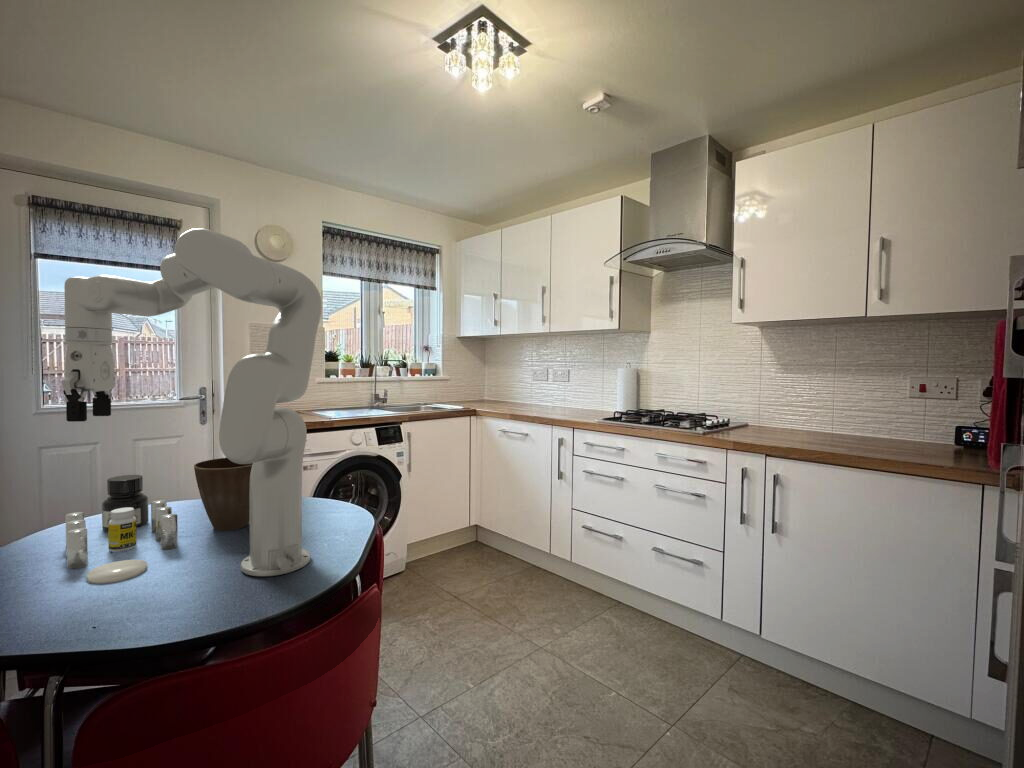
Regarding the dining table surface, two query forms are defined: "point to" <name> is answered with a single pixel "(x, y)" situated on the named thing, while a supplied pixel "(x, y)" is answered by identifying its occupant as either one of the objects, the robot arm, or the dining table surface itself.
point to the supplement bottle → (122, 530)
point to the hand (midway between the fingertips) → (89, 418)
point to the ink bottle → (125, 499)
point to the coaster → (116, 571)
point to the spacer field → (160, 524)
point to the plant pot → (224, 492)
